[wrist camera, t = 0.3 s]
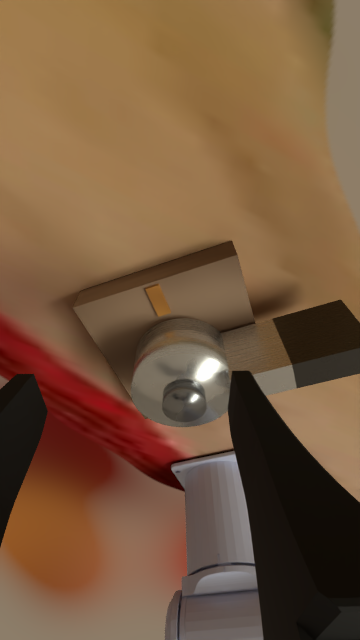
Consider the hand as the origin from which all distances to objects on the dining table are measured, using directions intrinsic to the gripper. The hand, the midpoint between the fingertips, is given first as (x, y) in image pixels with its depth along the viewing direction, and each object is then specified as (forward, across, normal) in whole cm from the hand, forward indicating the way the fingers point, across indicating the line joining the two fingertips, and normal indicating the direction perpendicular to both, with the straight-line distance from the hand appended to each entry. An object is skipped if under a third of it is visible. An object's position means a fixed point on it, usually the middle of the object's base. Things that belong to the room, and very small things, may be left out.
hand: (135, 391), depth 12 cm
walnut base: (+10, -2, +5) cm, 11 cm away
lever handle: (+7, -5, +4) cm, 10 cm away
